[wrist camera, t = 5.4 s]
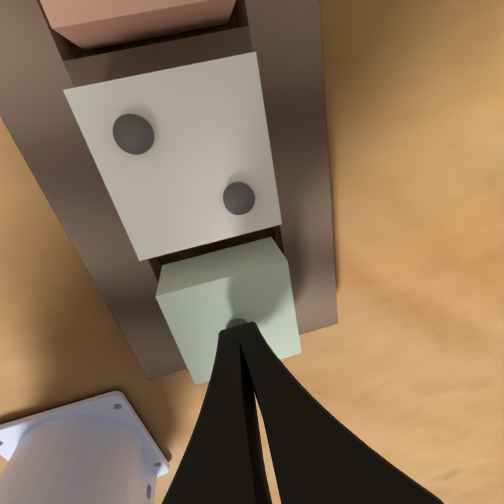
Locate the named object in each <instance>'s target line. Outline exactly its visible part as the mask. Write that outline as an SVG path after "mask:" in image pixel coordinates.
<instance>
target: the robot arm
mask: <svg viewBox="0 0 504 504" xmlns="http://www.w3.org/2000/svg"><path fill="white" fill-rule="evenodd" d="M254 392H255V394H254ZM255 395H256V398H257V401H258V404H259V408H260V411H261V414H262V417H263V421H264V425H265V430H266V434H267V439H268V444H269V448H270V453H271V457H272V462H273V467H274V471H275V476H276V481H277V485H278V490H279V495H280V499H281V504H444V503H443V502H442V501H441V500H440V499H439V498H438V497H436V496H435V495H434V494H432V493H431V492H429V491H428V490H427V489H425V488H424V487H422V486H421V485H419V484H418V483H417V482H415V481H414V480H412V479H411V478H410V477H408V476H407V475H406V474H404V473H403V472H402V471H400V470H399V469H397V468H396V467H395V466H393V465H392V464H391V463H389V462H388V461H387V460H386V459H384V458H383V457H382V456H380V455H379V454H378V453H377V452H375V451H374V450H373V449H371V448H370V447H369V446H368V445H366V444H365V443H364V442H363V441H362V440H360V439H359V438H358V437H357V436H356V435H355V434H353V433H352V432H351V431H350V430H349V429H347V428H346V427H345V426H344V425H343V424H341V423H340V422H339V421H338V420H337V419H336V418H335V417H334V416H332V415H331V414H330V413H329V412H328V411H327V410H326V409H325V408H324V407H323V406H322V405H321V404H320V403H319V402H318V401H317V400H316V399H315V398H313V397H312V396H311V395H310V393H309V392H308V391H307V390H306V389H305V388H304V387H303V386H302V385H301V384H300V383H299V382H298V381H297V380H296V379H295V377H294V376H293V375H292V374H291V373H290V372H289V371H288V369H287V368H286V367H285V366H284V365H283V363H282V362H281V361H280V360H279V358H278V357H277V356H276V354H275V353H274V352H273V350H272V349H271V348H270V346H269V345H268V343H267V342H266V340H265V339H264V337H263V336H262V334H261V332H260V330H259V328H258V326H257V324H256V323H255V322H253V321H252V322H249V323H245V324H242V325H238V326H235V327H231V328H228V329H224V330H221V331H220V332H219V335H218V344H217V350H216V356H215V361H214V365H213V369H212V373H211V377H210V381H209V385H208V388H207V392H206V395H205V398H204V401H203V405H202V408H201V411H200V414H199V417H198V420H197V422H196V425H195V428H194V431H193V433H192V436H191V438H190V441H189V444H188V446H187V449H186V451H185V453H184V456H183V458H182V460H181V463H180V465H179V467H178V469H177V472H176V474H175V476H174V479H173V481H172V483H171V485H170V487H169V489H168V492H167V494H166V496H165V498H164V500H163V502H162V504H272V500H271V495H270V491H269V486H268V481H267V477H266V472H265V466H264V460H263V453H262V446H261V438H260V431H259V424H258V416H257V409H256V402H255ZM0 455H1V456H3V457H4V458H5V459H6V460H7V461H8V463H7V465H6V467H5V469H4V470H3V472H2V474H1V476H0V504H154V497H155V488H156V478H157V477H158V476H161V475H164V474H166V473H167V472H169V467H170V465H169V463H168V461H167V460H166V458H165V457H164V455H163V454H162V452H161V451H160V449H159V448H158V446H157V445H156V443H155V442H154V440H153V438H152V437H151V435H150V434H149V432H148V431H147V429H146V428H145V426H144V425H143V423H142V422H141V420H140V419H139V417H138V416H137V414H136V413H135V411H134V409H133V408H132V406H131V405H130V403H129V402H128V400H127V399H126V397H125V396H124V394H123V393H122V392H119V391H112V392H108V393H105V394H102V395H98V396H95V397H92V398H88V399H85V400H82V401H78V402H75V403H71V404H68V405H65V406H61V407H58V408H55V409H51V410H48V411H45V412H41V413H38V414H34V415H31V416H28V417H24V418H21V419H18V420H14V421H11V422H8V423H4V424H1V425H0Z"/></svg>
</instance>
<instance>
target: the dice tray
mask: <svg viewBox="0 0 504 504" xmlns="http://www.w3.org/2000/svg"><path fill="white" fill-rule="evenodd" d="M235 4H236V10H237V16H238V22H239V28H235V29H230V30H225V31H219V32H214V33H209V34H204V35H199V36H193V37H188V38H183V39H178V40H172V41H167V42H162V43H157V44H151V45H146V46H141V47H136V48H130V49H125V50H120V51H115V52H109V53H104V54H99V55H94V56H88V57H83V58H78V59H77V57H76V55H75V52H74V50H73V47H72V45H71V42H70V40H68V39H67V38H65V37H64V36H62V35H61V34H59V33H58V32H56V31H55V30H53V29H52V28H51V25H50V23H49V21H48V18H47V16H46V14H45V11H44V9H43V7H42V4H41V2H40V0H0V116H1V118H2V120H3V122H4V124H5V125H6V127H7V129H8V131H9V132H10V134H11V136H12V138H13V140H14V141H15V143H16V145H17V147H18V148H19V150H20V152H21V154H22V156H23V157H24V159H25V161H26V163H27V164H28V166H29V168H30V170H31V171H32V173H33V175H34V177H35V179H36V180H37V182H38V184H39V186H40V187H41V189H42V191H43V193H44V195H45V196H46V198H47V200H48V202H49V203H50V205H51V207H52V209H53V211H54V212H55V214H56V216H57V218H58V219H59V221H60V223H61V225H62V226H63V228H64V230H65V232H66V234H67V235H68V237H69V239H70V241H71V242H72V244H73V246H74V248H75V250H76V251H77V253H78V255H79V257H80V258H81V260H82V262H83V264H84V266H85V267H86V269H87V271H88V273H89V274H90V276H91V278H92V280H93V281H94V283H95V285H96V287H97V289H98V290H99V292H100V294H101V296H102V297H103V299H104V301H105V303H106V305H107V306H108V308H109V310H110V312H111V313H112V315H113V317H114V319H115V321H116V322H117V324H118V326H119V328H120V329H121V331H122V333H123V335H124V337H125V338H126V340H127V342H128V344H129V345H130V347H131V349H132V351H133V352H134V354H135V356H136V358H137V360H138V361H139V363H140V365H141V367H142V368H143V370H144V372H145V374H146V376H147V377H148V379H153V378H156V377H159V376H163V375H166V374H170V373H173V372H176V371H180V370H183V369H186V368H187V366H186V364H185V361H184V359H183V357H182V355H181V353H180V350H179V348H178V346H177V344H176V341H175V339H174V337H173V335H172V332H171V330H170V328H169V326H168V324H167V321H166V319H165V317H164V315H163V312H162V310H161V308H160V306H159V303H158V301H157V299H156V297H155V296H156V292H157V287H158V283H159V278H160V274H161V269H162V266H161V263H160V261H159V258H158V257H159V256H157V257H153V258H149V259H146V260H142V261H139V259H138V257H137V254H136V252H135V250H134V248H133V245H132V243H131V241H130V239H129V236H128V234H127V232H126V230H125V228H124V225H123V223H122V221H121V219H120V216H119V214H118V212H117V210H116V207H115V205H114V203H113V201H112V199H111V196H110V194H109V192H108V190H107V187H106V185H105V183H104V181H103V178H102V176H101V174H100V172H99V170H98V167H97V165H96V163H95V161H94V158H93V156H92V154H91V152H90V149H89V147H88V145H87V143H86V141H85V138H84V136H83V134H82V132H81V129H80V127H79V125H78V123H77V120H76V118H75V116H74V114H73V112H72V109H71V107H70V105H69V103H68V100H67V98H66V96H65V94H64V91H63V90H65V89H70V88H75V87H80V86H85V85H90V84H95V83H100V82H105V81H110V80H115V79H120V78H125V77H130V76H135V75H140V74H145V73H150V72H155V71H160V70H165V69H171V68H176V67H181V66H186V65H191V64H196V63H201V62H206V61H211V60H216V59H221V58H226V57H231V56H236V55H241V54H246V53H251V52H256V55H257V62H258V68H259V75H260V82H261V88H262V95H263V101H264V108H265V115H266V121H267V128H268V135H269V141H270V148H271V154H272V161H273V168H274V174H275V181H276V188H277V194H278V201H279V207H280V214H281V221H282V224H281V225H277V226H273V230H274V236H275V242H276V244H277V246H278V247H279V249H280V250H281V252H282V253H283V255H284V256H285V258H286V259H287V261H288V267H289V274H290V280H291V287H292V294H293V300H294V307H295V313H296V320H297V327H298V333H299V335H301V334H304V333H307V332H311V331H314V330H318V329H321V328H324V327H328V326H331V325H334V324H338V315H337V297H336V280H335V262H334V245H333V227H332V209H331V192H330V174H329V157H328V139H327V121H326V104H325V86H324V69H323V51H322V33H321V16H320V0H236V2H235ZM269 228H271V227H269ZM265 229H267V228H265ZM262 230H263V229H262ZM258 231H260V230H258ZM254 232H256V231H254ZM250 233H252V232H250ZM246 234H248V233H246ZM242 235H244V234H242ZM238 236H240V235H238ZM235 237H236V236H235ZM231 238H233V237H231ZM227 239H229V238H227ZM223 240H225V239H223ZM219 241H221V240H219ZM215 242H217V241H215ZM211 243H213V242H211ZM207 244H209V243H207ZM204 245H205V244H204ZM200 246H202V245H200ZM196 247H198V246H196ZM192 248H194V247H192ZM188 249H190V248H188ZM184 250H186V249H184ZM180 251H182V250H180ZM177 252H178V251H177ZM173 253H175V252H173ZM169 254H171V253H169ZM165 255H167V254H165ZM161 256H163V255H161Z"/></svg>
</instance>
